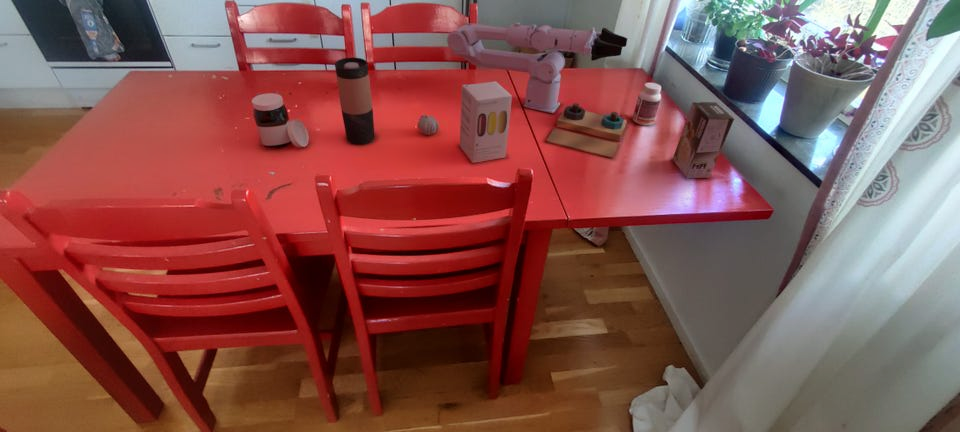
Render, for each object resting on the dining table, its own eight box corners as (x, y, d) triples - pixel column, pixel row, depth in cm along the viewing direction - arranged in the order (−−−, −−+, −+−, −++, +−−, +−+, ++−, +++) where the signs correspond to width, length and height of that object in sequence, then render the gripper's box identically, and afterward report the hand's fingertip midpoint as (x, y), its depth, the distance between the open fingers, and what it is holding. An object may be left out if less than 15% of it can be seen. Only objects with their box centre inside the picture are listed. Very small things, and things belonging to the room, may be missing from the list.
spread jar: (260, 135, 119) (248, 92, 112) (306, 128, 123) (297, 87, 116) (263, 158, 111) (250, 114, 103) (312, 150, 114) (303, 107, 107)
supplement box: (472, 164, 113) (475, 100, 103) (458, 146, 120) (459, 84, 109) (506, 157, 116) (513, 95, 106) (491, 140, 123) (496, 79, 112)
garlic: (413, 134, 123) (412, 117, 120) (422, 126, 127) (421, 108, 124) (433, 139, 122) (433, 121, 118) (442, 130, 126) (442, 113, 122)
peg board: (556, 126, 131) (559, 108, 127) (565, 112, 138) (568, 95, 135) (619, 141, 126) (624, 123, 122) (625, 126, 133) (630, 109, 130)
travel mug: (380, 134, 122) (373, 60, 110) (366, 147, 117) (356, 71, 104) (355, 128, 124) (345, 55, 112) (340, 141, 118) (327, 65, 106)
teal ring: (599, 126, 128) (601, 120, 127) (603, 118, 132) (605, 112, 131) (619, 131, 126) (621, 125, 125) (623, 122, 130) (625, 117, 129)
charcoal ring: (561, 117, 131) (562, 111, 130) (567, 109, 135) (568, 104, 134) (580, 122, 129) (582, 116, 128) (585, 114, 134) (586, 108, 132)
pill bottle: (657, 123, 136) (669, 87, 129) (643, 127, 133) (654, 91, 126) (641, 114, 140) (651, 79, 133) (627, 119, 137) (637, 83, 130)
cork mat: (545, 141, 124) (545, 140, 123) (554, 129, 129) (554, 128, 129) (612, 158, 119) (612, 157, 118) (617, 144, 124) (618, 143, 124)
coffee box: (710, 178, 113) (736, 119, 103) (685, 178, 113) (709, 119, 103) (694, 158, 121) (716, 101, 110) (670, 158, 120) (691, 101, 110)
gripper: (568, 33, 119) (621, 39, 114) (582, 19, 129) (631, 23, 125) (565, 60, 123) (616, 67, 119) (579, 44, 133) (626, 49, 129)
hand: (624, 46), depth 122 cm, fingers open, 7 cm apart
